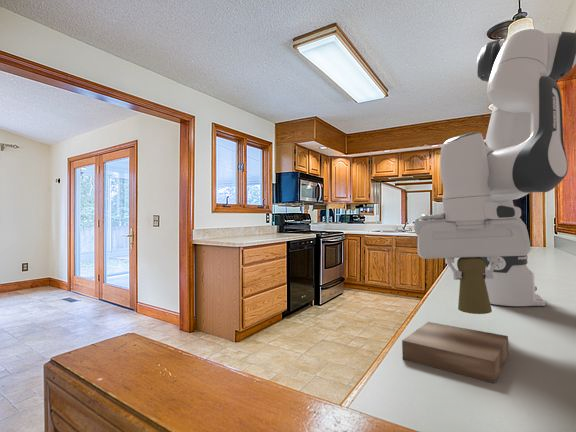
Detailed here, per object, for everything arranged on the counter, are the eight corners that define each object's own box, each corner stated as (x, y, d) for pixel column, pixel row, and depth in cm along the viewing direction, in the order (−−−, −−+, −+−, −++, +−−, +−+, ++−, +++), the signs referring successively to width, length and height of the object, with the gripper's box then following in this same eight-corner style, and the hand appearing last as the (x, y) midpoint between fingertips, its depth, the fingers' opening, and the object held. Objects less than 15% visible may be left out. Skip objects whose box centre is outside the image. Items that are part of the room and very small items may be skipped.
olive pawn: (477, 315, 62) (472, 259, 62) (451, 308, 68) (447, 256, 68) (499, 310, 64) (494, 256, 65) (472, 304, 70) (468, 254, 70)
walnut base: (428, 337, 63) (428, 321, 63) (508, 353, 54) (507, 336, 54) (402, 358, 53) (402, 340, 53) (495, 383, 44) (494, 361, 44)
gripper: (414, 215, 66) (420, 282, 66) (530, 207, 60) (537, 281, 60) (412, 215, 72) (416, 277, 72) (517, 208, 66) (523, 275, 66)
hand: (472, 279), depth 66 cm, fingers closed on olive pawn, 4 cm apart
